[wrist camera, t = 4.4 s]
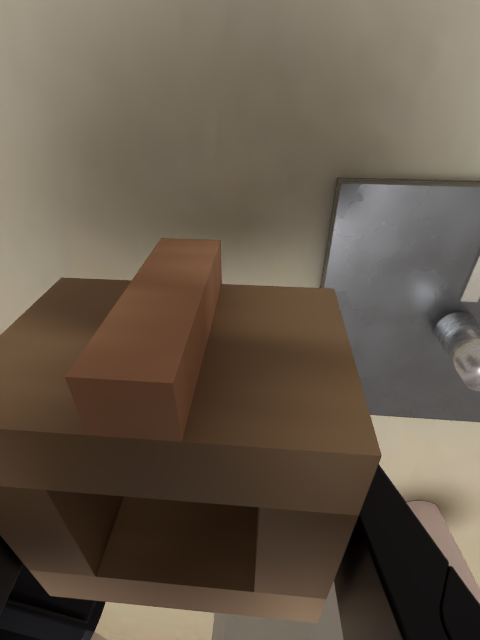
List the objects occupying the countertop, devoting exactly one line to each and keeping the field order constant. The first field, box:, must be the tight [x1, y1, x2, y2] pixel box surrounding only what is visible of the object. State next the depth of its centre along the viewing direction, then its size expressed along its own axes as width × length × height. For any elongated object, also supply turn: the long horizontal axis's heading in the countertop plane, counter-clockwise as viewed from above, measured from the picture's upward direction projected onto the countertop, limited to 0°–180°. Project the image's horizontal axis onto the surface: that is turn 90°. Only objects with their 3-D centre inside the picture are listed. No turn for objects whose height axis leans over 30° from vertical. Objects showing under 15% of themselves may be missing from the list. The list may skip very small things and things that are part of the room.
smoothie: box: [406, 501, 480, 603], centre depth 24 cm, size 6×6×14 cm
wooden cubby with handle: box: [0, 238, 381, 623], centre depth 7 cm, size 6×7×4 cm
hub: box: [320, 178, 480, 422], centre depth 17 cm, size 14×14×4 cm
